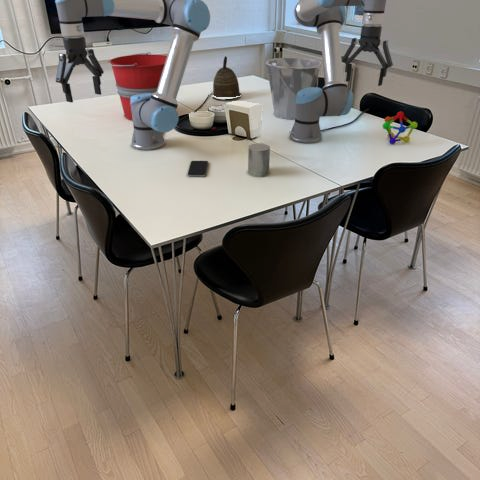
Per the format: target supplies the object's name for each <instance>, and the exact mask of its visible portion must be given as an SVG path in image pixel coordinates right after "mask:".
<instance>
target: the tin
mask: <svg viewBox="0 0 480 480" xmlns="http://www.w3.org/2000/svg"><path fill="white" fill-rule="evenodd" d="M247 154H248V155H247V173H248V175H249V176H252V177H255V178H262V177H266V176H268V175H269V174H270V157H271V146H270V145H269V144H266V143H262V142H261V143H260V142H256V143H251V144H249V145H248V148H247Z"/></svg>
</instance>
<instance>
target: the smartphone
mask: <svg viewBox="0 0 480 480" xmlns="http://www.w3.org/2000/svg"><path fill="white" fill-rule="evenodd" d="M208 166H209V161H208V160H191V161H190V164H189V168H188V172H187V176H188V177H206V176H207V170H208Z"/></svg>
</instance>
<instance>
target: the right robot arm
mask: <svg viewBox="0 0 480 480" xmlns="http://www.w3.org/2000/svg"><path fill="white" fill-rule="evenodd" d="M386 4H387V0H299V1H298V2H297V3H296V5H295V7H294V10H293V14H294V18H295V20H296V21H297V23H298V24H299V25H301V26H303V27H307V28H316V33H317V34H318V35H320V43H321V55H322V56H321V57H322V65H323V67H322V68H323V76H324V86H322V88H321V87H318V86H317V87H316V86H315V87H309V88H304V89H302V90H300V91H299V92H298V93H297V98H296V110H295V119H294V122H293V125H292V128H291V130H289V139H290V141H293V142H295V143H298V144H299V143H300V144H316V143H319V142H321V141H322V132H325V131H329V130H334V129H338V128H342V127H345V126H348V125H351V124H353V123H355V122H356V121H357V120H358V119H359V118H360V117H361V116H362V115H363V114H364V113H366V112H368V111H370V108H367V109H364V110H363V111H362V112H361V113H360V114H359V115H357V117H356V118H355V119H353V120H352V121H349V122H347V123H344V124H341V125H335V126H332V127H328V128H324V129H321V126H320V118H323V117H324V118H325V117H341V116H342V117H343V116H346V115H348V114H350V112H351V110H352V107H353V103H354V93H353V91H352V90H351V89H350V88H349V89H348V84H347V83H346V82H350V81H351V76H352V75H351V74H352V68H353V63H352V62H353V61H354V60H355V59H356V58H357V57H358V55H360V53H362V51H363V52H365V53H366V52H368V53H373V54H374V55H375V56H376V58H377V60H378V61H379V63H380V65H381V66H382V67H381V68H380V72H379V76H378V77H379V78H378V84H377V87H381V86H382V85H383V82H384V81H383V80H384V78H385V77H387V71H388V68H391V67H393V66H394V63H393V60H392V59H393V58H392V55H391V53H390V49H389V40H388V39H386V40H381V36H382V30H383V27H382V25H383V23H384V18H385V10H386ZM346 7H364V8H363V15H362V20H361V21H362V26H361V28H360V37H359V38H357V37H353V38H352V39H351V42H350V45H349V47H348V48H347V50H346V51H345V53H344V54H343V57H342V50H341V38H340V31H341V30H342V28H343V26H344V24H345V22H346V16H347V15H346V14H347V13H346V12H347V11H346ZM358 44H359V47H358V48H357V49H356V50H355V51H354V52H353V50H354V48H355V47H356V45H358ZM380 45H381V47H382V50H383V53H384V56H383V54H382V52H381V50H380V47H379V46H380ZM352 52H353V54H351V53H352ZM350 55H351V56H350ZM343 63H344V65H345V66H344V72H343ZM344 73H346V74H345V75H346V76H345V81H344Z"/></svg>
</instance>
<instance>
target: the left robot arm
mask: <svg viewBox="0 0 480 480" xmlns="http://www.w3.org/2000/svg"><path fill="white" fill-rule="evenodd" d="M54 3H55V6H56V10H57V15H58V20H59V27H60V32H61V36H62V42H63V47H64V49H65V53H61V52H60V53H58V64H57V69H56V70H57V71H56V75H55V83H57V84H58V83H59V84H61V88H62V92H63V94H64V96H65V101H66V102H68V103H74V99H73V94H72V88H71V83H69V80H70V78H71V75H72V73H73V71H74V68H75V67H76V66H80V65H84V66H85V67H86V68H87V69H88V70H89V72H90V73H91V74H92V75H93V76H92V77H91V78H92V83H93V89H94V95H99V96H100V95H102V88H101V85H102V81H101V77H102V76H103V74H105V71H104V69H103V68H102V66H101V63H100V62H99V61H98V58H97V57H96V55H95V51H94V49H93V48H87V42H86V37H85V30H84V24H83V18H87V17H88V18H89V17H108V16H109V17H118V18H119V17H120V18H130V19H141V20H149V21H150V20H153V21H154V22H155V23H157V24H164V25H168V26H171V30H172V32H173V35H172V38H171V42H170V45H169V47H168V52H167V55H166V56H167V58H166V62H165V65H164V68H163V72H162V75H161V78H160V81H159V85H158V88H157V91H156V92H155V93H144V94H137V95H133V96H132V97H131V98H130V102H131V103H130V105H131V111H132V118H133V120H132V125H133V132H132V135H131V142H130V143H131V147H132V148H134V149H135V150H141V151H151V150H153V151H154V150H157V149H161V148H163V147H164V146H165V144H166V140H165V137H164V135H163V134H164V133H165V134H166V133H169V132H171V131H173V130H174V129H175V128H176V126H177V125H178V123H179V122H181V121H183V120H185V119H187V118H188V117H189V116H188V115H189V114H187V115H186V116H184V117H182V118H180V117H179V114H178V110H177V109H178V106H179V102H178V101H177V97H178V95H179V94H178V93H179V91H180V88H181V85H182V81H183V78H184V75H185V71H186V69H187V66H188V63H189V59H190V56H191V53H192V50H193V47H194V43H195V42H196V41H199V40H200V36H201V33H202V32H205V30H207V29H208V28H209V26H210V22H211V12H210V10H209V7H208V5H207V4H206V3H205V1H203V0H54ZM208 96H209V94H208V95H207V96H206V98H205V100H204V101H203V102H202V104H200V105H199V106H198V107H197V108H196V109H195V110H194V111H196V112H197V111H199V110H200V109H201V108H202V107H203V106H204V105H205V104H206V102H207V101H208V99H209V97H210V96H209V97H208Z"/></svg>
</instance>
